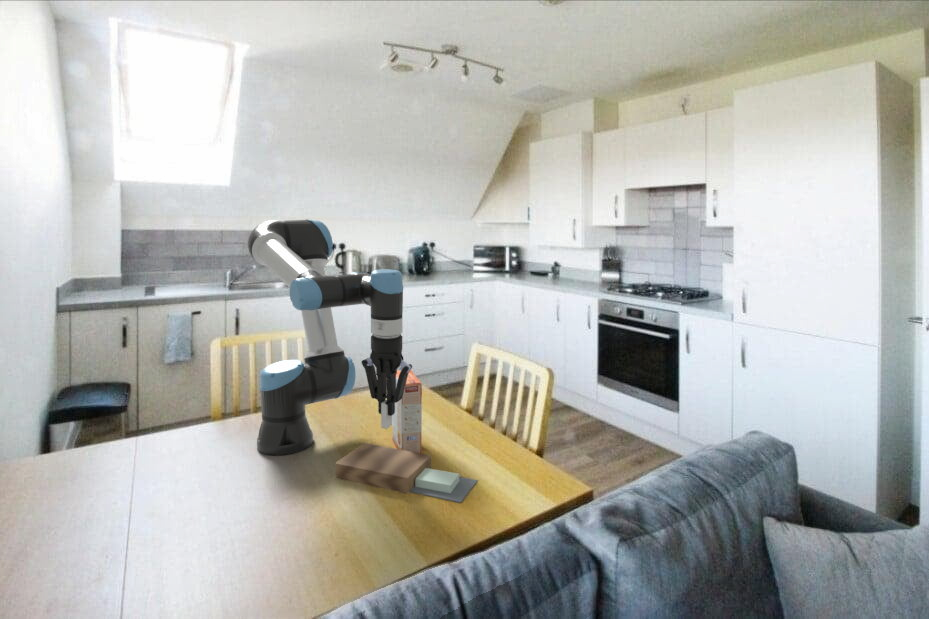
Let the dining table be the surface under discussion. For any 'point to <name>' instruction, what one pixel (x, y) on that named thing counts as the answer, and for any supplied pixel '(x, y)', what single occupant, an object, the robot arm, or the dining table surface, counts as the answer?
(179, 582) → the dining table surface
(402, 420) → the cracker box
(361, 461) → the wooden block
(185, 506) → the dining table surface
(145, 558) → the dining table surface
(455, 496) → the mat
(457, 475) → the pale green eraser
